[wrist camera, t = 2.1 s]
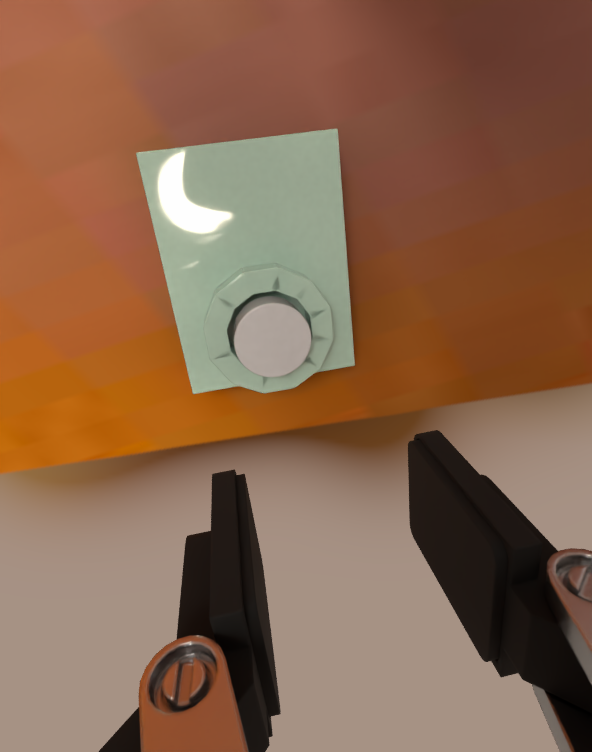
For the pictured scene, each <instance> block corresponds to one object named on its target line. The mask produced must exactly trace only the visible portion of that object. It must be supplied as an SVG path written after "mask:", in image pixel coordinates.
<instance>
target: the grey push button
mask: <svg viewBox="0 0 592 752" xmlns="http://www.w3.org/2000/svg"><path fill="white" fill-rule="evenodd" d="M233 339H234V348H235V352H236V354H237V357H238V359H239V360H240V362H241V363H242V364H243V365H244V366H245V367H246V368H247V369H248V370H249V371H251V372H253V373H255V374H257V375H260V376H264V377H279V376H283V375H286V374H289V373H291V372H292V371H294V370H295V369H297V368H298V367H299V366H300V365H301V364H302V363H303V362H304V360H305V359H306V357H307V355H308V353H309V350H310V347H311V331H310V328H309V325H308V323H307V321H306V319H305V318H304V316H303V315H302V313H301V312H300V311H299V309H298V308H297V307H296V306H295V305H294V304H293V303H291V302H290V301H288V300H286V299H284V298H281V297H276V296H265V297H260V298H257V299H255V300H253V301H251V302H249V303H248V304H247V305H245V306H244V307H243V308H242V309H241V311H240V312H239V314H238V315H237V317H236V319H235V322H234V327H233Z"/></svg>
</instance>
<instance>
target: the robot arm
mask: <svg viewBox="0 0 592 752" xmlns="http://www.w3.org/2000/svg"><path fill="white" fill-rule="evenodd" d="M408 467H409V509H410V510H409V511H410V528H411V532H412V535H413V537H414V539H415V541H416V543H417V545H418V546H419V548H420V550H421V552H422V554H423V555H424V557H425V559H426V561H427V562H428V564H429V566H430V568H431V570H432V571H433V573H434V575H435V577H436V578H437V580H438V582H439V584H440V585H441V587H442V589H443V591H444V593H445V594H446V596H447V598H448V600H449V601H450V603H451V605H452V607H453V609H454V610H455V612H456V614H457V616H458V617H459V619H460V621H461V623H462V625H463V626H464V628H465V630H466V632H467V633H468V635H469V637H470V639H471V640H472V642H473V644H474V646H475V648H476V649H477V651H478V653H479V655H480V656H481V658H482V659H483V660H484V661H485V662H488V661H492V663H493V665H494V666H495V668H496V670H497V672H498V673H499V675H500V677H504V676H508V675H512V674H516V673H519V674H520V676H521V678H522V679H523V680H525V681H527V682H529V683H531V684H532V686H533V690H534V692H535V695H536V697H537V699H538V702H539V704H540V706H541V709H542V711H543V713H544V716H545V718H546V721H547V723H548V725H549V728H550V730H551V732H552V734H553V737H554V739H555V741H556V744H557V746H558V749H559V751H560V752H592V551H589V550H585V549H565V550H560V551H557V550H556V548H555V547H553V545H551V543H550V542H549V541H548V540H547V539H546V538H545V537H544V536H543V535H542V534H541V533H540V532H539V530H538V529H536V527H535V526H534V525H533V524H532V523H531V522H530V521H529V520H528V519H527V518H526V517H525V516H524V515H523V513H522V512H521V511H519V509H518V508H517V507H516V506H515V505H514V504H513V503H512V502H511V501H510V500H509V499H508V498H507V497H506V495H505V494H504V493H502V491H501V490H500V489H499V488H498V487H497V486H496V485H495V484H494V483H493V482H492V481H491V480H490V479H489V478H488V477H487V476H484V475H479V473H478V472H477V471H476V470H475V469H474V468H473V467H472V466H471V465H470V464H469V463H468V461H467V460H465V458H464V457H463V456H462V455H461V454H460V453H459V452H458V451H457V450H456V448H454V446H453V445H452V444H451V443H450V442H449V441H448V440H447V439H446V438H445V437H444V436H443V434H442V433H441V432H439V431H438V430H436V431H430V432H426V433H420V434H416V435H415V437H414V441H410V442H409V443H408ZM279 714H280V703H279V695H278V686H277V678H276V671H275V662H274V653H273V645H272V637H271V628H270V620H269V612H268V603H267V595H266V587H265V579H264V570H263V564H262V558H261V553H260V548H259V543H258V538H257V533H256V528H255V523H254V518H253V513H252V508H251V503H250V498H249V493H248V488H247V483H246V478H245V474H241V475H236V472H235V470H231V471H226V472H220V473H215V474H213V475H212V510H211V531H208V532H203V533H199V534H194V535H189V536H187V538H186V544H185V555H184V565H183V576H182V587H181V598H180V608H179V619H178V630H177V640H175V641H173V642H171V643H170V644H168V645H166V646H165V647H164V648H163V649H161V650H160V651H159V652H158V653H157V654H156V655H155V656H154V657H153V658H152V660H151V661H150V663H149V664H148V666H147V667H146V669H145V671H144V673H143V676H142V678H141V681H140V687H139V707H138V709H137V710H136V711H135V712H134V713H133V714H132V715H131V716H130V718H129V719H128V720H127V721H126V722H125V723H124V724H123V725H122V726H121V727H120V728H119V730H118V731H117V732H116V733H115V734H114V735H113V736H112V737H111V738H110V740H109V741H108V742H107V743H106V744H105V745H104V746H103V748H101V749H100V751H99V752H265V751H266V750H267V748H268V746H269V737H271V736H272V726H271V716H275V715H279Z"/></svg>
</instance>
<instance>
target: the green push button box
mask: <svg viewBox="0 0 592 752" xmlns="http://www.w3.org/2000/svg"><path fill="white" fill-rule="evenodd" d="M136 156H137V160H138V164H139V168H140V173H141V177H142V181H143V185H144V189H145V194H146V198H147V202H148V206H149V210H150V215H151V219H152V223H153V227H154V232H155V236H156V240H157V244H158V248H159V253H160V257H161V261H162V265H163V270H164V274H165V278H166V282H167V286H168V291H169V295H170V299H171V303H172V307H173V312H174V316H175V320H176V324H177V329H178V333H179V337H180V341H181V345H182V350H183V354H184V358H185V362H186V367H187V371H188V375H189V379H190V383H191V388H192V392H193V394H196V393H202V392H208V391H213V390H219V389H225V388H230V387H236V386H241V387H244V388H247V389H250V390H253V391H257V392H260V393H269V392H275V391H281V390H286V389H292V388H294V387H297V386H298V385H299V384H301V383H302V382H303V381H305V380H306V379H307V378H309V377H310V376H311V375H313V374H314V373H316V372H321V371H327V370H333V369H338V368H344V367H350V366H355V360H354V347H353V333H352V319H351V305H350V292H349V278H348V264H347V250H346V237H345V223H344V209H343V195H342V181H341V168H340V154H339V140H338V129H328V130H320V131H312V132H303V133H295V134H287V135H279V136H270V137H262V138H254V139H245V140H237V141H229V142H221V143H212V144H204V145H196V146H187V147H179V148H171V149H163V150H154V151H146V152H138V153H136ZM265 296H276V297H281V298H284V299H286V300H288V301H290V302H291V303H293V304H294V305H295V306H296V307H297V308H298V309H299V311H300V312H301V313H302V315H303V316H304V318H305V319H306V321H307V323H308V325H309V328H310V331H311V347H310V350H309V353H308V355H307V357H306V359H305V360H304V362H303V363H302V364H301V365H300V366H299V367H298V368H297V369H295V370H294V371H292V372H291V373H289V374H286V375H283V376H279V377H264V376H260V375H257V374H255V373H253V372H251V371H249V370H248V369H247V368H246V367H245V366H244V365H243V364H242V363H241V362H240V360H239V359H238V357H237V354H236V352H235V348H234V339H233V327H234V322H235V319H236V317H237V315H238V314H239V312H240V311H241V309H242V308H243V307H244V306H245V305H247V304H248V303H249V302H251V301H253V300H255V299H257V298H260V297H265Z"/></svg>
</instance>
